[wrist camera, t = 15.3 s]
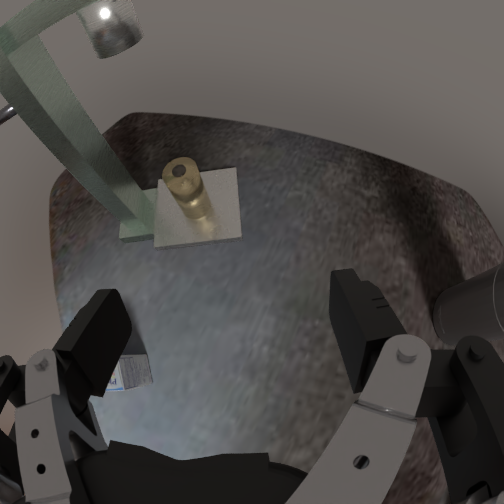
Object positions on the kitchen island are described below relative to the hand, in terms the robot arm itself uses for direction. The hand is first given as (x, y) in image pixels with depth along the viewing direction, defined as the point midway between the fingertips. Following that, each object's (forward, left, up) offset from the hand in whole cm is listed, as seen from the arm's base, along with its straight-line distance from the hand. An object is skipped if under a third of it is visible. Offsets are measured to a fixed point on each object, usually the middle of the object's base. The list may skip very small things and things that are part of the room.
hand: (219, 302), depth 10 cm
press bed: (+16, -19, -27) cm, 37 cm away
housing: (+7, -19, -26) cm, 33 cm away
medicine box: (+19, +5, -27) cm, 34 cm away
